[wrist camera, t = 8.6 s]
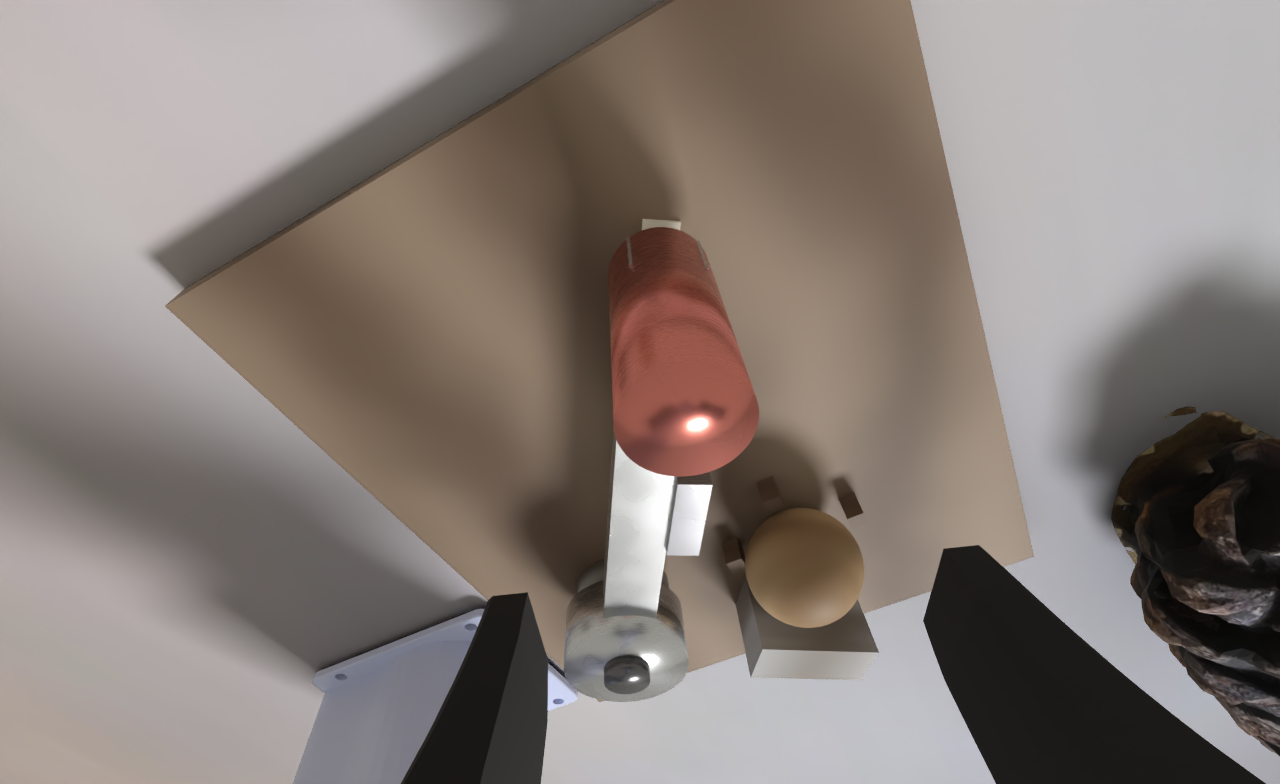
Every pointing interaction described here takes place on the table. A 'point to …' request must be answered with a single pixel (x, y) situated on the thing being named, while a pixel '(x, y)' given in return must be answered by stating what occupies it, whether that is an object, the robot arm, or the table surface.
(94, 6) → the table surface
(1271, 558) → the pine cone
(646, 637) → the lever
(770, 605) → the tan round ball
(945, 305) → the base
